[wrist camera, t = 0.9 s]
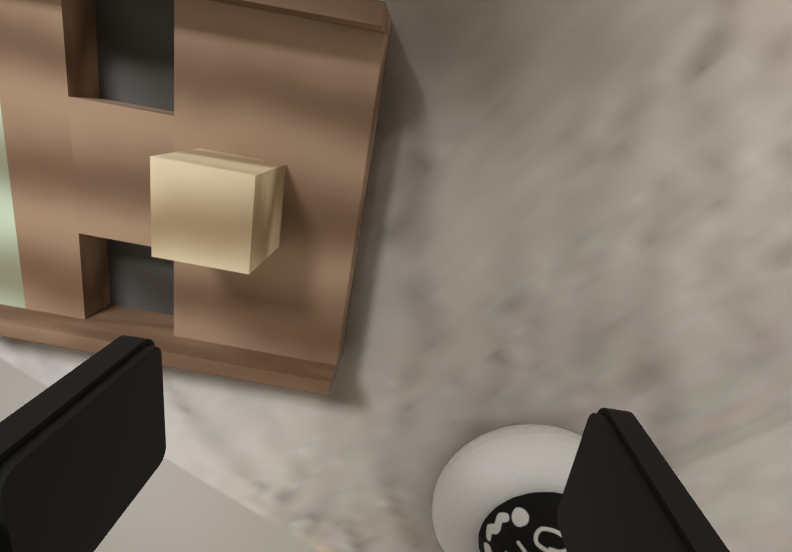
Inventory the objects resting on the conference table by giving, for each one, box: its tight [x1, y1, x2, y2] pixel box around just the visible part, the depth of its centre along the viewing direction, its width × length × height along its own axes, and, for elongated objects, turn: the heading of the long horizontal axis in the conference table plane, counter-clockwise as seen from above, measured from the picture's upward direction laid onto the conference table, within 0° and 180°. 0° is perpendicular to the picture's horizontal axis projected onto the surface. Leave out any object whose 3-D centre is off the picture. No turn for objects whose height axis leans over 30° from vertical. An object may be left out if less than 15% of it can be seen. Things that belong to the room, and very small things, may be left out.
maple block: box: [150, 148, 286, 274], centre depth 24 cm, size 5×5×5 cm
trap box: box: [0, 0, 392, 395], centre depth 27 cm, size 22×28×5 cm
